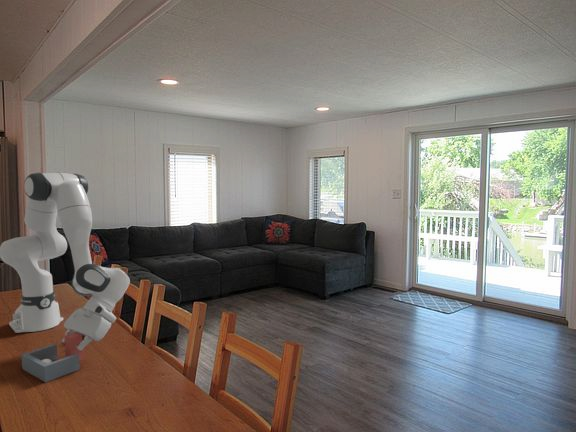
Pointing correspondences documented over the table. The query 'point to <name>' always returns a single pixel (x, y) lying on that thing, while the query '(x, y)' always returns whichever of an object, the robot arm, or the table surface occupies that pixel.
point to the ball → (47, 361)
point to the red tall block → (73, 344)
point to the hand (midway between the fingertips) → (71, 346)
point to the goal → (51, 370)
